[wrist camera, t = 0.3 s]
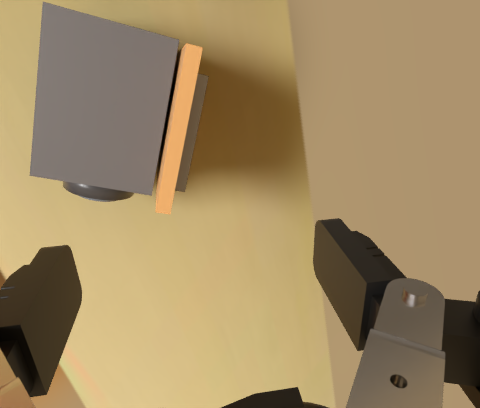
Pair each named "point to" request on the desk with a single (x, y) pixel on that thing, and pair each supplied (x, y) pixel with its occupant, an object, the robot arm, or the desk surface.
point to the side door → (180, 126)
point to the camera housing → (100, 104)
